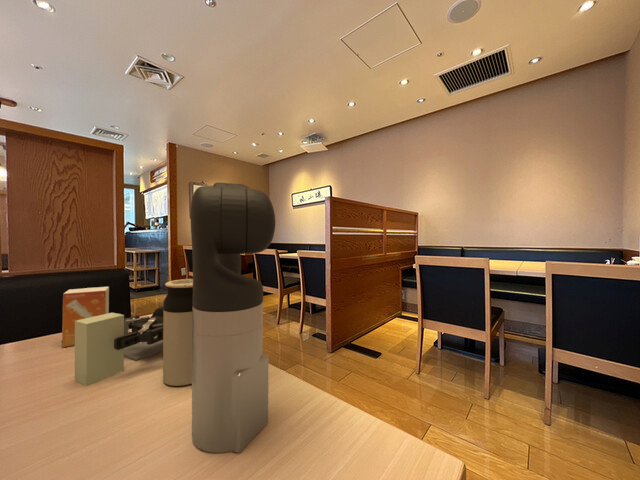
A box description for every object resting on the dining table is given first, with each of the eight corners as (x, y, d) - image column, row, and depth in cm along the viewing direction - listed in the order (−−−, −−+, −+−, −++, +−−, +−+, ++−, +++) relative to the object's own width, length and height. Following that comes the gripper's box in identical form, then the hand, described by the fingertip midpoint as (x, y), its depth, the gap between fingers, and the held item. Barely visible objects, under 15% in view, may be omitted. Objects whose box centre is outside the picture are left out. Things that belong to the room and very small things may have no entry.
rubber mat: (182, 342, 65) (182, 340, 65) (136, 360, 55) (136, 358, 55) (142, 332, 72) (142, 330, 72) (94, 347, 62) (94, 345, 62)
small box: (61, 348, 61) (61, 293, 61) (68, 339, 67) (68, 288, 67) (105, 341, 66) (106, 289, 66) (109, 333, 71) (109, 286, 71)
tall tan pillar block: (123, 370, 51) (124, 315, 51) (86, 386, 46) (86, 323, 46) (112, 366, 53) (112, 312, 53) (74, 380, 48) (74, 320, 47)
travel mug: (154, 379, 48) (154, 282, 48) (193, 362, 55) (194, 277, 55) (179, 392, 44) (180, 286, 44) (218, 372, 51) (219, 280, 51)
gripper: (160, 299, 67) (82, 316, 53) (199, 305, 61) (124, 326, 47) (160, 328, 67) (82, 353, 53) (199, 337, 61) (124, 368, 47)
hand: (102, 340), depth 50 cm, fingers open, 8 cm apart
